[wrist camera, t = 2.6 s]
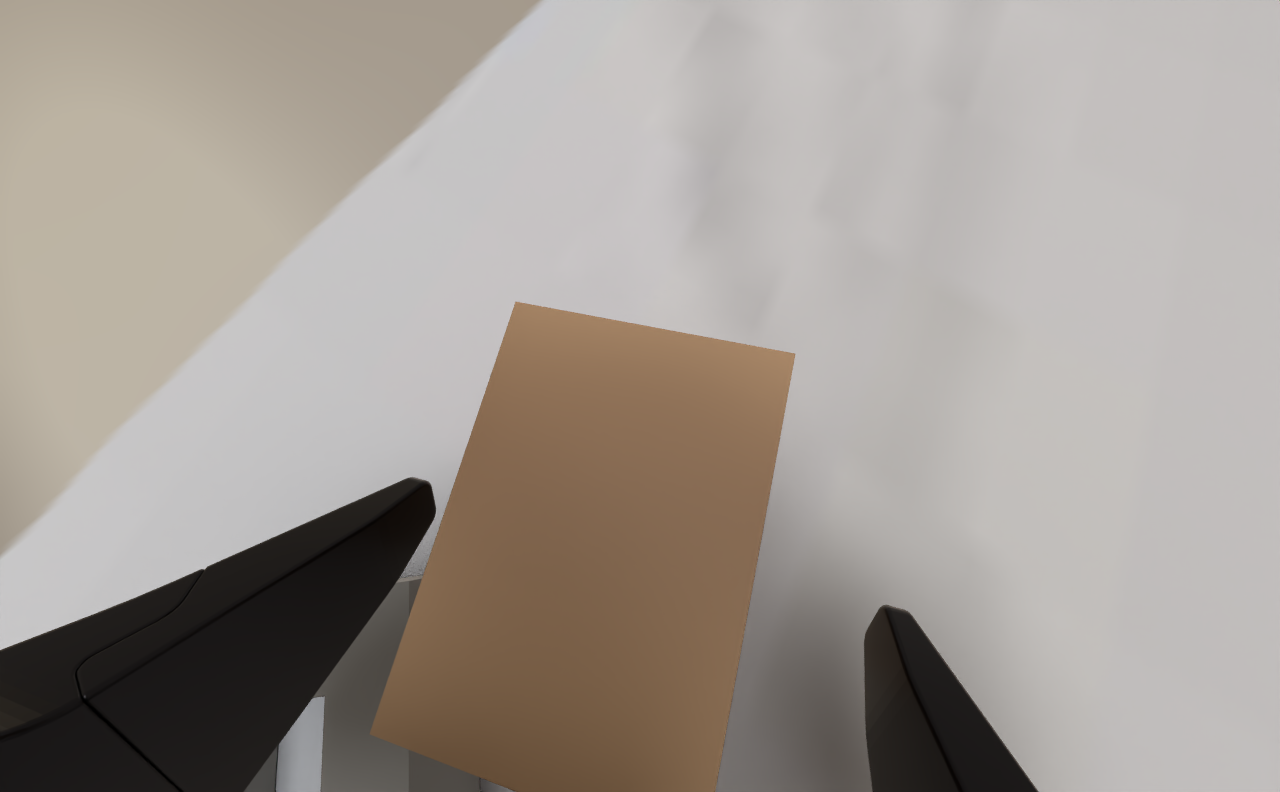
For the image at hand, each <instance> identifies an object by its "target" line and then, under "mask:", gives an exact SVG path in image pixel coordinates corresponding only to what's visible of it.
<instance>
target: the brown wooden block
mask: <svg viewBox="0 0 1280 792" xmlns="http://www.w3.org/2000/svg"><path fill="white" fill-rule="evenodd" d="M794 358H795V354H794V353H789V352H783V351H778V350H772V349H767V348H762V347H756V346H751V345H746V344H740V343H735V342H729V341H724V340H719V339H713V338H708V337H703V336H697V335H692V334H686V333H681V332H676V331H670V330H665V329H660V328H654V327H649V326H643V325H638V324H633V323H627V322H622V321H617V320H611V319H606V318H600V317H595V316H590V315H584V314H579V313H574V312H568V311H563V310H558V309H552V308H547V307H541V306H536V305H531V304H525V303H520V302H515V305H514V308H513V311H512V314H511V317H510V320H509V323H508V326H507V329H506V332H505V335H504V338H503V341H502V344H501V347H500V350H499V353H498V356H497V359H496V362H495V365H494V368H493V370H492V373H491V376H490V379H489V382H488V385H487V388H486V391H485V394H484V397H483V400H482V403H481V406H480V409H479V412H478V415H477V418H476V421H475V424H474V427H473V430H472V433H471V436H470V438H469V441H468V444H467V447H466V450H465V453H464V456H463V459H462V462H461V465H460V468H459V471H458V474H457V477H456V480H455V483H454V486H453V489H452V492H451V495H450V498H449V501H448V503H447V506H446V509H445V512H444V515H443V518H442V521H441V524H440V527H439V530H438V533H437V536H436V539H435V542H434V545H433V548H432V551H431V554H430V557H429V560H428V563H427V566H426V569H425V571H424V574H423V577H422V580H421V583H420V586H419V589H418V592H417V595H416V598H415V601H414V604H413V607H412V610H411V613H410V616H409V619H408V622H407V625H406V628H405V631H404V634H403V637H402V639H401V642H400V645H399V648H398V651H397V654H396V657H395V660H394V663H393V666H392V669H391V672H390V675H389V678H388V681H387V684H386V687H385V690H384V693H383V696H382V699H381V702H380V704H379V707H378V710H377V713H376V716H375V719H374V722H373V725H372V728H371V731H370V735H373V736H375V737H378V738H380V739H383V740H385V741H388V742H391V743H393V744H396V745H398V746H401V747H403V748H406V749H408V750H411V751H414V752H416V753H419V754H421V755H424V756H426V757H429V758H431V759H434V760H437V761H439V762H442V763H444V764H447V765H449V766H452V767H454V768H457V769H460V770H462V771H465V772H467V773H470V774H472V775H475V776H478V777H480V778H483V779H485V780H488V781H490V782H493V783H495V784H498V785H501V786H503V787H506V788H508V789H511V790H513V791H516V792H715V789H716V784H717V778H718V773H719V767H720V762H721V756H722V751H723V746H724V740H725V735H726V729H727V724H728V718H729V713H730V707H731V702H732V696H733V691H734V686H735V680H736V675H737V669H738V664H739V658H740V653H741V647H742V642H743V637H744V631H745V626H746V620H747V615H748V609H749V604H750V598H751V593H752V587H753V582H754V577H755V571H756V566H757V560H758V555H759V549H760V544H761V538H762V533H763V527H764V522H765V517H766V511H767V506H768V500H769V495H770V489H771V484H772V478H773V473H774V467H775V462H776V457H777V451H778V446H779V440H780V435H781V429H782V424H783V418H784V413H785V407H786V402H787V397H788V391H789V386H790V380H791V375H792V369H793V364H794Z"/></svg>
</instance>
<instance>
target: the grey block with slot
mask: <svg viewBox="0 0 1280 792" xmlns="http://www.w3.org/2000/svg"><path fill="white" fill-rule="evenodd" d="M422 577H423V575H419V576H412V577H405V578H399V579H398V581H397V582H396V584H395V585H394V587H393V588H392V590H391V591H390V592H389V594H388V595H387V597H386V598H385V599H384V601H383V602H382V603H381V605H380V606H379V608H378V609H377V610H376V612H375V613H374V614H373V616H372V617H371V619H370V620H369V621H368V623H367V624H366V625H365V627H364V628H363V630H362V631H361V632H360V634H359V635H358V636H357V638H356V639H355V640H354V642H353V643H352V645H351V646H350V647H349V649H348V650H347V651H346V653H345V654H344V656H343V657H342V658H341V660H340V661H339V662H338V664H337V665H336V667H335V668H334V669H333V671H332V672H331V673H330V675H329V676H328V677H327V679H326V680H325V682H324V683H323V684H322V686H321V687H320V688H319V690H318V691H317V693H316V694H315V695H314V697H313V698H315V697H323V696H325V705H324V727H323V749H322V771H321V792H480V777H478V776H475V775H472V774H470V773H467V772H465V771H462V770H460V769H457V768H454V767H452V766H449V765H447V764H444V763H442V762H439V761H437V760H434V759H431V758H429V757H426V756H424V755H421V754H419V753H416V752H414V751H411V750H408V749H406V748H403V747H401V746H398V745H396V744H393V743H391V742H388V741H385V740H383V739H380V738H378V737H375V736H373V735H370V731H371V728H372V725H373V722H374V719H375V716H376V713H377V710H378V707H379V704H380V702H381V699H382V696H383V693H384V690H385V687H386V684H387V681H388V678H389V675H390V672H391V669H392V666H393V663H394V660H395V657H396V654H397V651H398V648H399V645H400V642H401V639H402V637H403V634H404V631H405V628H406V625H407V622H408V619H409V616H410V613H411V610H412V607H413V604H414V601H415V598H416V595H417V592H418V589H419V586H420V583H421V580H422ZM277 748H278V746H277V747H276V749H275V750H274V751H273V753H272V754H271V756H270V757H269V758H268V760H267V761H266V762H265V764H264V765H263V766H262V768H261V769H260V771H259V772H258V773H257V775H256V776H255V777H254V779H253V780H252V782H251V783H250V784H249V786H248V787H247V788H246V790H245V791H244V792H275V777H276V763H277Z"/></svg>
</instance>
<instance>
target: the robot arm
mask: <svg viewBox="0 0 1280 792" xmlns="http://www.w3.org/2000/svg"><path fill="white" fill-rule="evenodd" d="M435 514H436V506H435V501H434V496H433V491H432V486H431V484H430V483H429V482H428V481H426V480H422V479H418V478H414V477H410V478H407V479H404V480H402V481H400V482H398V483H395V484H393V485H391V486H389V487H386V488H384V489H382V490H380V491H377V492H375V493H373V494H370V495H368V496H366V497H364V498H361V499H359V500H357V501H355V502H352V503H350V504H348V505H346V506H343V507H341V508H339V509H337V510H334V511H332V512H330V513H328V514H325V515H323V516H321V517H318V518H316V519H314V520H312V521H309V522H307V523H305V524H303V525H300V526H298V527H296V528H294V529H291V530H289V531H287V532H285V533H282V534H280V535H278V536H276V537H273V538H271V539H269V540H267V541H264V542H262V543H260V544H257V545H255V546H253V547H251V548H248V549H246V550H244V551H242V552H239V553H237V554H235V555H233V556H230V557H228V558H226V559H223V560H221V561H219V562H217V563H214V564H212V565H210V566H208V567H207V568H206V569H205V570H204V569H201V570H198V571H196V572H194V573H192V574H189V575H187V576H185V577H183V578H180V579H178V580H176V581H173V582H171V583H169V584H166V585H164V586H162V587H159V588H157V589H155V590H152V591H150V592H148V593H145V594H143V595H141V596H138V597H136V598H133V599H131V600H128V601H126V602H123V603H121V604H118V605H116V606H113V607H111V608H108V609H106V610H103V611H101V612H98V613H96V614H93V615H91V616H88V617H85V618H83V619H80V620H78V621H75V622H72V623H70V624H67V625H65V626H62V627H59V628H57V629H54V630H52V631H49V632H46V633H44V634H41V635H38V636H36V637H33V638H31V639H28V640H25V641H23V642H20V643H18V644H15V645H12V646H10V647H7V648H5V649H2V650H0V792H244V791H245V790H246V788H247V787H248V786H249V784H250V783H251V782H252V780H253V779H254V777H255V776H256V775H257V773H258V772H259V771H260V769H261V768H262V766H263V765H264V764H265V762H266V761H267V760H268V758H269V757H270V756H271V754H272V753H273V751H274V750H275V749H276V747H277V746H278V745H279V743H280V742H281V740H282V739H283V738H284V736H285V735H286V734H287V732H288V731H289V730H290V728H291V727H292V725H293V724H294V723H295V721H296V720H297V719H298V717H299V716H300V714H301V713H302V712H303V710H304V709H305V708H306V706H307V705H308V703H309V702H310V701H311V699H312V698H313V697H314V695H315V694H316V693H317V691H318V690H319V688H320V687H321V686H322V684H323V683H324V682H325V680H326V679H327V677H328V676H329V675H330V673H331V672H332V671H333V669H334V668H335V667H336V665H337V664H338V662H339V661H340V660H341V658H342V657H343V656H344V654H345V653H346V651H347V650H348V649H349V647H350V646H351V645H352V643H353V642H354V640H355V639H356V638H357V636H358V635H359V634H360V632H361V631H362V630H363V628H364V627H365V625H366V624H367V623H368V621H369V620H370V619H371V617H372V616H373V614H374V613H375V612H376V610H377V609H378V608H379V606H380V605H381V603H382V602H383V601H384V599H385V598H386V597H387V595H388V594H389V592H390V591H391V590H392V588H393V587H394V585H395V584H396V582H397V581H398V579H399V577H400V576H401V574H402V573H403V571H404V569H405V568H406V566H407V564H408V562H409V561H410V559H411V557H412V556H413V554H414V552H415V551H416V549H417V547H418V546H419V544H420V542H421V540H422V539H423V537H424V535H425V534H426V532H427V530H428V529H429V527H430V525H431V524H432V522H433V520H434V517H435ZM864 667H865V721H866V739H867V749H868V758H869V766H870V774H871V782H872V789H873V792H1038V790H1037V789H1036V788H1035V786H1034V785H1033V783H1032V782H1031V781H1030V779H1029V778H1028V776H1027V775H1026V774H1025V772H1024V771H1023V769H1022V768H1021V767H1020V765H1019V764H1018V763H1017V761H1016V760H1015V758H1014V757H1013V756H1012V754H1011V753H1010V751H1009V750H1008V749H1007V747H1006V746H1005V744H1004V743H1003V742H1002V740H1001V739H1000V737H999V736H998V735H997V733H996V732H995V730H994V729H993V728H992V726H991V725H990V723H989V722H988V721H987V719H986V718H985V717H984V715H983V714H982V712H981V711H980V710H979V708H978V707H977V705H976V704H975V703H974V701H973V700H972V698H971V697H970V696H969V694H968V693H967V691H966V690H965V689H964V687H963V686H962V684H961V683H960V682H959V680H958V679H957V677H956V676H955V675H954V673H953V672H952V671H951V669H950V668H949V666H948V665H947V664H946V662H945V661H944V659H943V658H942V657H941V655H940V654H939V652H938V651H937V650H936V648H935V647H934V645H933V644H932V643H931V641H930V640H929V638H928V637H927V636H926V634H925V633H924V631H923V630H922V629H921V627H920V626H919V625H918V623H917V622H916V620H915V619H914V618H913V616H912V615H911V614H910V613H909V612H908V611H906V610H903V609H900V608H896V607H892V606H889V605H883V606H881V607H880V608H879V610H878V612H877V613H876V615H875V617H874V619H873V620H872V622H871V624H870V625H869V627H868V629H867V631H866V634H865V639H864Z"/></svg>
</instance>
